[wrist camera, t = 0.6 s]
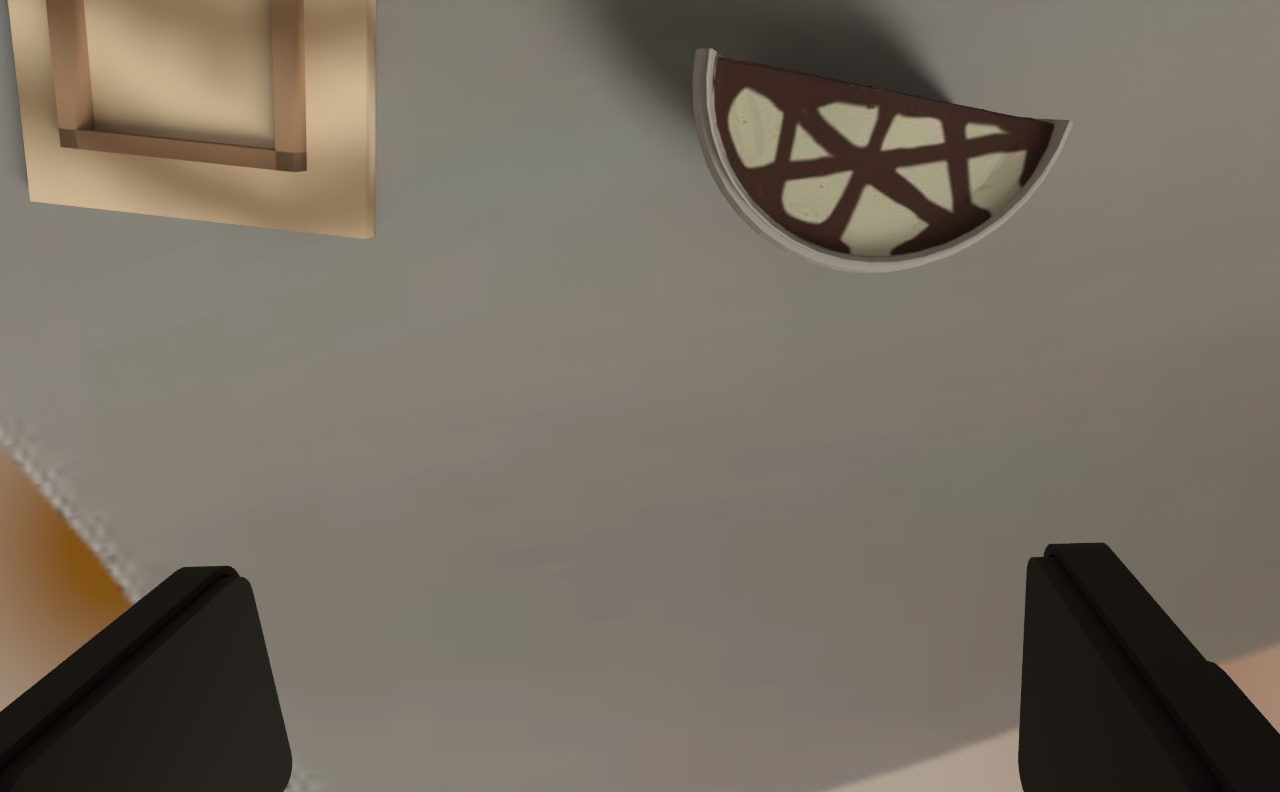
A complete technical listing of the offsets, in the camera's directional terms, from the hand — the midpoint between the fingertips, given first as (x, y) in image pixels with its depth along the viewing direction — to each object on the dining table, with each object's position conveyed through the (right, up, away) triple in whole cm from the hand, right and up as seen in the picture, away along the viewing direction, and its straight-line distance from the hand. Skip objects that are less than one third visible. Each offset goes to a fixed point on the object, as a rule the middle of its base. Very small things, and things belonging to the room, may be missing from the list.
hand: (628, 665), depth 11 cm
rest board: (-19, +20, +28) cm, 39 cm away
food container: (+8, +13, +27) cm, 31 cm away
